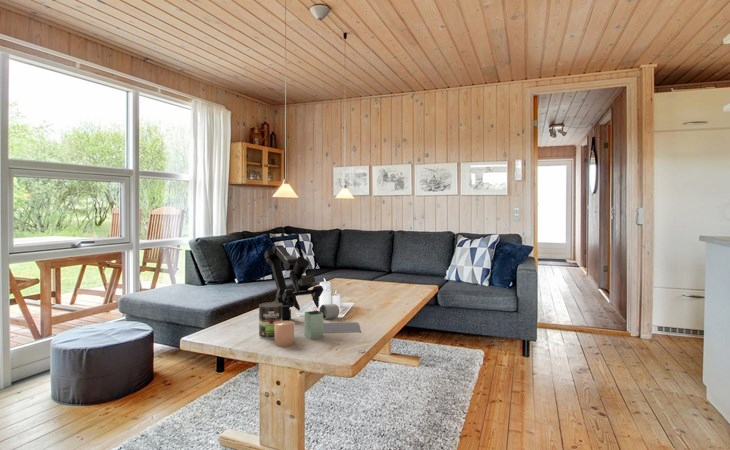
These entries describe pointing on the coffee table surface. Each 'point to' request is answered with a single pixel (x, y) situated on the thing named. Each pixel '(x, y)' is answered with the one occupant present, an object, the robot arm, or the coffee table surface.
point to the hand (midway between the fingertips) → (308, 308)
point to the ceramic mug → (329, 311)
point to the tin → (313, 324)
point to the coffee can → (269, 318)
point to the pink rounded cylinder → (284, 333)
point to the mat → (341, 327)
